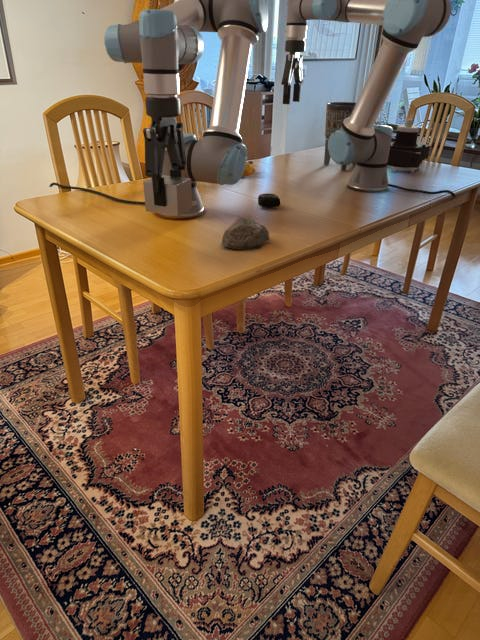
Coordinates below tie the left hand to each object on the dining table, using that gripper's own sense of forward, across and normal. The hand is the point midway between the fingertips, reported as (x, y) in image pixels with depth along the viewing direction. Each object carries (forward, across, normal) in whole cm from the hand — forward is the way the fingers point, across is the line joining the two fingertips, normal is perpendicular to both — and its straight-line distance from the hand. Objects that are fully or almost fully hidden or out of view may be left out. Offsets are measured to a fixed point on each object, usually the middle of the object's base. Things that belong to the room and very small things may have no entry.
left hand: (168, 201), depth 110 cm
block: (+2, 0, 0) cm, 2 cm away
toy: (+13, -89, -16) cm, 91 cm away
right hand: (-15, -96, +1) cm, 97 cm away
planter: (+14, -125, +19) cm, 127 cm away
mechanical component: (+14, -136, +46) cm, 145 cm away
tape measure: (+13, -48, +10) cm, 51 cm away
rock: (+13, -13, +16) cm, 24 cm away
